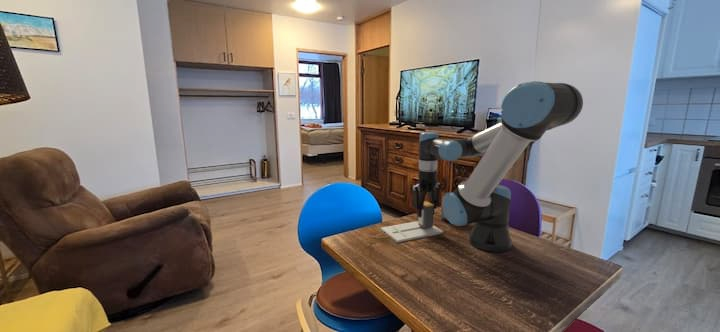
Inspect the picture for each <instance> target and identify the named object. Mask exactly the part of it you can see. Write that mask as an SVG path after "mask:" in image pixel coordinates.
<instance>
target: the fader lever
mask: <svg viewBox="0 0 720 332" xmlns="http://www.w3.org/2000/svg"><path fill="white" fill-rule="evenodd" d="M423 210H424V225H421V224H419V223H418V225H420V226H422V227H423V228H430V227H433V226H434V215H433V212H434V213H435V211H434V204H432V203H429V201H425V200H424V204H423ZM417 217H418V216H417ZM418 219H419V217H418ZM418 219H417V220H418Z"/></svg>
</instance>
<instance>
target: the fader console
mask: <svg viewBox="0 0 720 332" xmlns="http://www.w3.org/2000/svg"><path fill="white" fill-rule="evenodd" d="M380 231H382V232H383V233H384V232H385V233H384V234H386V235H387V236H388V237H390V238H391V239H392V240H393V241H395V242H396V243H402V242H406V241H412V240H413V241H414V240H417V239H422V238H427V237H432V236H437V235H441V234H444V230H442V229H440V228H438V227H437V226H435V225H433V227H430V228H423V227H422V226H420V225H418V220H417V221H411V222H406V223H405V222H404V223H400V224H394V225H389V226H383V227H380Z"/></svg>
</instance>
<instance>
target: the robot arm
mask: <svg viewBox="0 0 720 332" xmlns="http://www.w3.org/2000/svg"><path fill="white" fill-rule="evenodd" d="M583 99H584V98H583V95H582V93H581V92H580V91H579V89H578V88H576V86H574V85H572V84H568V83H565V82H544V81H540V80H538V81H536V80H535V81H534V80H533V81H529V82H527V81H526V82H522V83H519V84H516V85H515V86H513V87H512V88H510V90H509V91H507V93H506V94H505V96H504V97H503V99H502V101H501V105H500V108H501V111H500V114H501V118H500V122H498V123H496V124H494V125H492V126H490V127H488V128H486V129H484V130H482V131H479V132H477V133H476V134H474V135H472V136H469V137H467V138H451V139H447V138H446V139H443V138H442V139H441V138H439V133H437V132H433V131H431V132H430V131H424V132H421V133H420V134H419V141H418V169H419V170H418V173H417V178H418V181H417V184H416V185H412V187H411V189H412V193H413V194H412V198H413V199H412V200H413V204H412V205H413V208H414V209H416V212H417V217H419V219H417V221H418V223H419V224H421V225H424V210H423V204H424V202H425V200H426V195H428V202H429V203H432V204H434V212H433V216H434V215H435V210H436V209H437V207H439V205H440V195H441V188H442V183H440V182H437V174H438V171H437V170H438V159H440V160H444V161H450V162H454V161H457V160H458V159H462V158H463V159H464V158H477V157H481V156H482V157H481V159H480V160H479V162H478V163H477V165H476V166H475V167H474V169H473V170H472V172H471V174H470V176H469V177H468V179H467V180H463V181H461V182H459V184H458V186H457V187H456V189H455V191H452V192H453V193H448V194H446V195H445V196H444V197H443V196H442V200H441V209H442V208H443V212H444V215H445V217H446V218H447V220H448V221H449V222H450V224H451V225H453V226H456V227H462V226H463V227H464V226H466V225H467V226H468V225H471V224H473V225H472V228H471V230H470V232H469V234H468V242H469V243H470V245H471V246H473V247H474V248H476V249H479V250H483V251H485V252H490V253H491V252H492V253H502V252H503V253H504V252H508V251H510V250H511V249H512V245H513V240H512V238H511V234H510V229H509V222H510V220H509V218H510V210H511V209H510V208H511V202H512V201H511V200H512V198H511V197H512V196H511V195H512V191H511V190H510V188H508V187H506V186H504V185H501V184H500V183H501V181H502V180H503V179H504V178H505V176H506V175H507V173H508V172H509V171H510V170H511V168H512V167H513V165H514V164H516V163H515V162H517V160H518V159H519V158H520V156H521V155H522V153H523V152H524V151H525V150H526V148H527V147H528V145H530V143H532V142H537V141H539V140H540V139H541V138H542V137H543V136H544V134H545V133H546V131H549V130H552V129H556V128H558V127H561V126H565V125H567V124H569V123H571V122H573V121H574V120H575V119H577V118H578V117H579V116H580V114H581V112H582V110H583V105H584V100H583ZM449 222H448V223H449Z"/></svg>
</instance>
